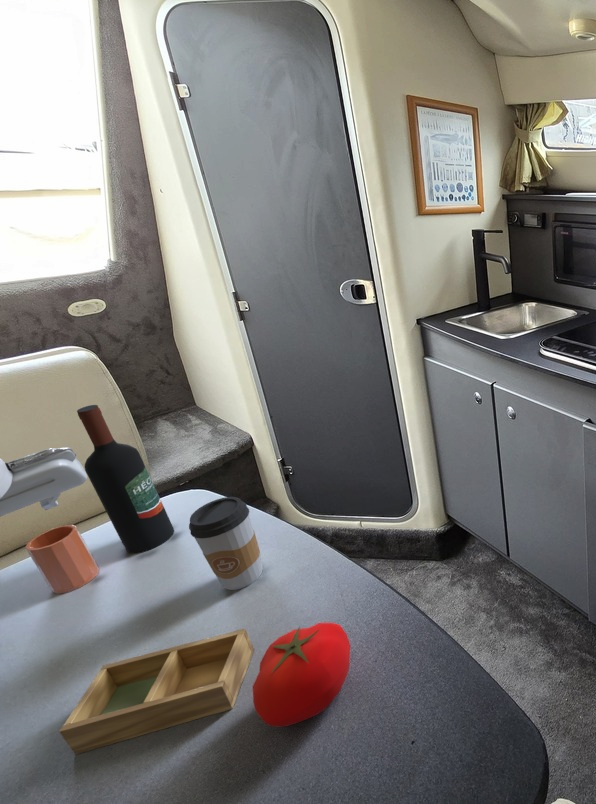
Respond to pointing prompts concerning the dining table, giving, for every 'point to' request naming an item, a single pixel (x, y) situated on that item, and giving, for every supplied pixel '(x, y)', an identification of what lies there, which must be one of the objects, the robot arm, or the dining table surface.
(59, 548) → the tumbler
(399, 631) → the dining table surface
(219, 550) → the coffee cup
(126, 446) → the wine bottle
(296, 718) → the tomato
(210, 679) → the tray
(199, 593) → the dining table surface
